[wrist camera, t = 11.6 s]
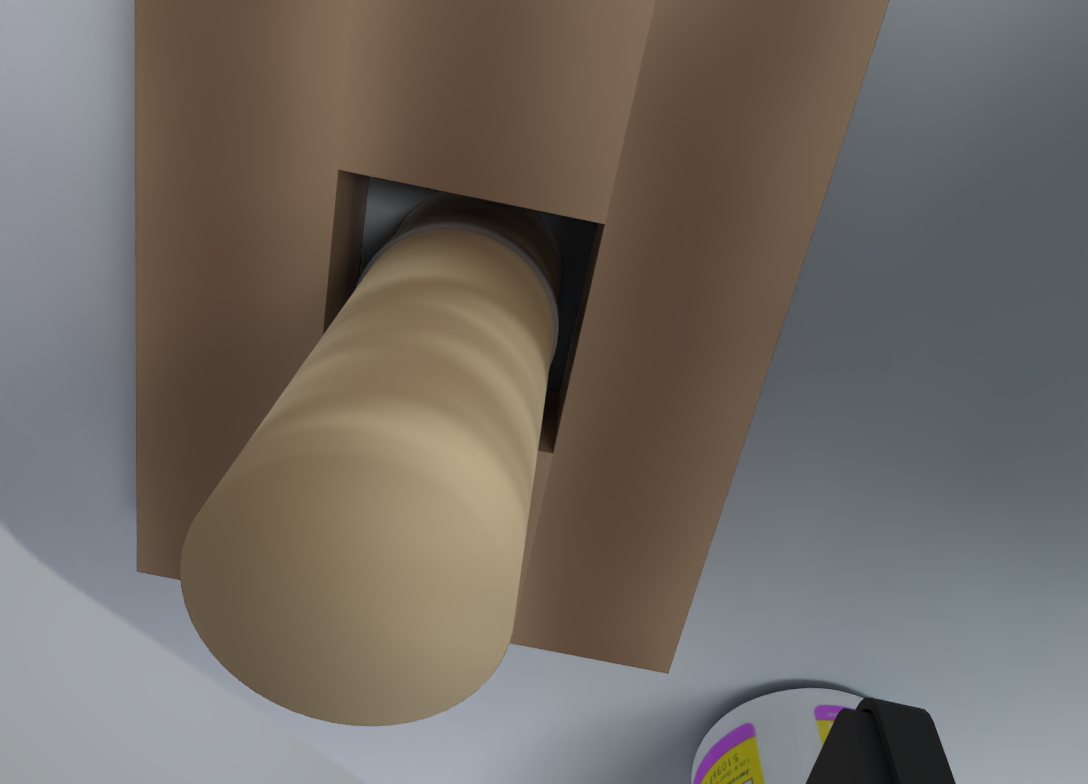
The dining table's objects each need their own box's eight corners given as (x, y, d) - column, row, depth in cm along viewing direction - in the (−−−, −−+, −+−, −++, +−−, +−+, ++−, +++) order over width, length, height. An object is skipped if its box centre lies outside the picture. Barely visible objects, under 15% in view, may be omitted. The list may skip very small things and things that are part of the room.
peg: (582, 203, 21) (552, 488, 10) (546, 368, 23) (490, 757, 12) (398, 165, 21) (175, 414, 10) (378, 334, 23) (171, 696, 12)
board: (859, -42, 19) (901, -37, 16) (662, 595, 26) (668, 673, 23) (204, -182, 18) (133, -201, 16) (187, 503, 25) (136, 571, 23)
